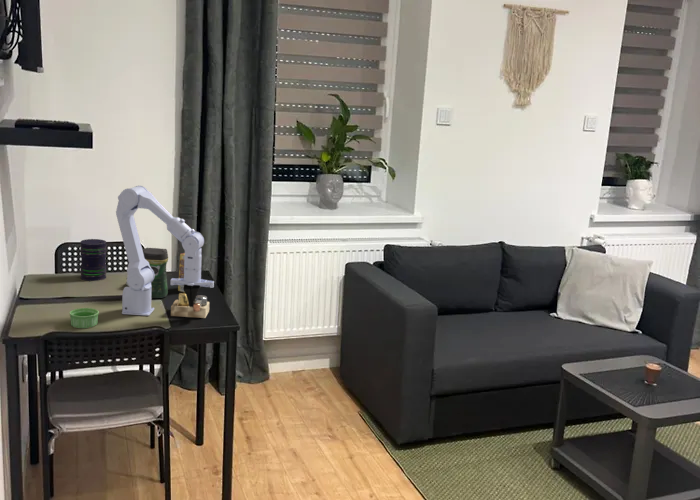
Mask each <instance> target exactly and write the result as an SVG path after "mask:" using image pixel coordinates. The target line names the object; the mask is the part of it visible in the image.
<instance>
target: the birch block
mask: <svg viewBox="0 0 700 500" xmlns="http://www.w3.org/2000/svg"><path fill="white" fill-rule="evenodd" d="M178 300H179V299H175V300H174V301H173V303H172V304H171V306H170V317H183V318H184V317H185V318H198V319H199V318H201V319H206V318H207V316H208V314H209V313H210V301H207V305H206V306H201V308H200V311H199V312H195V311H193V307H189V302H188V306H178Z"/></svg>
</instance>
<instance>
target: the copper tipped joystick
mask: <svg viewBox="0 0 700 500" xmlns="http://www.w3.org/2000/svg"><path fill="white" fill-rule="evenodd" d="M207 302H208V296H207V295H202V294H201V295H199V294H197V296H196V299H195V303H194V306H193V311H195V312H199V311H200V308H201V306H206V305H207Z"/></svg>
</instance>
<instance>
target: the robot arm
mask: <svg viewBox="0 0 700 500" xmlns="http://www.w3.org/2000/svg"><path fill="white" fill-rule="evenodd" d="M117 199H118V201H117V206H116V211H115V214H116V215H115V216H116V218H117V223H118V226H119V229H120V230H119V231H120V234H121V238H122V241H123V245H124V246H123V247H124V249H125V253H126V256H127V261H128V265H127V268H126V272H127V277H126V282H127V283H128V285H129V286H125V287H124V288H123V289H122V299H121V301H122V303H121V304H122V305H121V308H122V310H121V311H122V312H121V314H122V315H130V316H131V315H132V316H147V317H148V316H151V314H152V312H153V311H154V310H155V307H152V298H151V291H152V286H151V282H152V281H153V280H154V277H155V274H154V271H153V270H152V269H151V267H150V265H149V262H148V261H147V260H146V259H145V258H144V254H143V250H144V249H143V247H142V244H141V240H140V235H139V232H138V231H139V230H138V228H137V223H136V220H135V217H134V215H135V213H136V212H137V211H138V209H144V210H145V209H146V210H148V211H150V212H151V213H152V214H154V215H155V216H156V217H157V218H158V219H160V220H161V221H162V222H163V223H165V224H166V230H167V231H168V232H170V234H172V235H173V236H174V237H175V238H176V239H177V240H178V241H179V242H180V243H181V246H182V248H183V250H184V253H185V255H184V278H179V277H178V278H174V277H172V278H171V279H170V280H169V281H170V286H178V285H184V288H183V290H184V292H183V293H185V294H186V296H187V299H188V302H189V307H193V306H194V303H195V299H196V296H197V295H198V293H199V291H200V290H201V287H204V288H210V289H211V288H214V287H215V281H214V280H208V279H203V278H202V258H203V257H202V250H203V249H202V247H204V244H205V238H204V236H203V234H202V233H201V232H199V231H196V230H195V229H194V228H191V227H190V226H189V225H188V224H187V223H185V222H186V220H185V219H184V218H180V217H175V216H173V214H171V213H170V211H168V210H167V209H166V208H165V207H164V206H163V205H162V203H161V202H159V201H158V199H157V198H156V197H155V195H153V193H152V192H151V191H149V190H148V189H147V188H146V187H145V186H143V185H136V186H134V187H133V186H132V187H130V188H125V189H123V190H121V192H120V194H119V195H118V196H117Z"/></svg>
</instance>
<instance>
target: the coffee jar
mask: <svg viewBox="0 0 700 500" xmlns="http://www.w3.org/2000/svg"><path fill="white" fill-rule="evenodd" d="M142 250H143V254H144V258H145V259H146V260H147V261H148V262H149V265H150V267H151V269H152V270H153V271H154V274H155V277H154V280H153V281H152V282H151V286H152V291H151V299H162V298H166V297H167V296H168V293H169V291H168V290H169V288H168V279H167V278H168V277H167V264H168V262H169V254H168V252H169V251H168V249H167V248H159V247H157V248H156V247H145V248H143V249H142Z"/></svg>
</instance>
